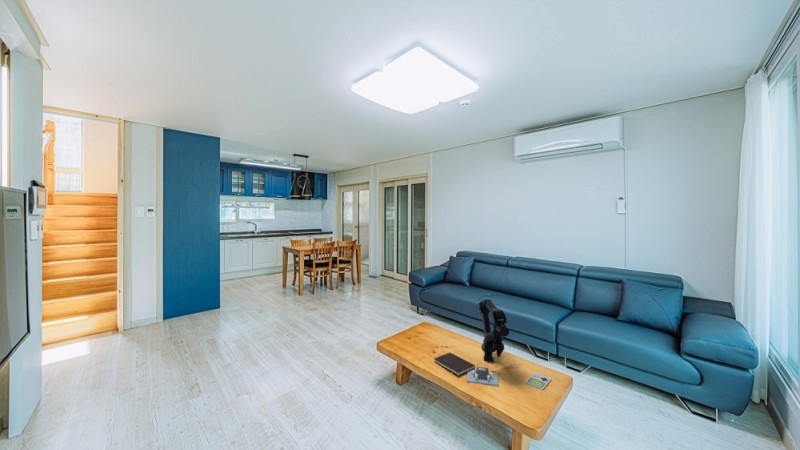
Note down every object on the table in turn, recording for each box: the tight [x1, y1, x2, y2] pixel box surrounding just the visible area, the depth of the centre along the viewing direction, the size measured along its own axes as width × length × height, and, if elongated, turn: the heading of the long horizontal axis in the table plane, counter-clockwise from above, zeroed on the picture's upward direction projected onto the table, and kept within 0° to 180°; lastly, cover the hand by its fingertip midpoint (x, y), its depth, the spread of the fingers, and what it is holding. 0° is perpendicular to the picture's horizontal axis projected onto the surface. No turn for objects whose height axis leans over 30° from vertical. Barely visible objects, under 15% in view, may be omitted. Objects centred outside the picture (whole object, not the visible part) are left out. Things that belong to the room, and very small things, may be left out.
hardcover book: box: [433, 352, 476, 377], centre depth 187 cm, size 16×23×2 cm
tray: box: [466, 366, 499, 387], centre depth 172 cm, size 12×18×4 cm, turn 75°
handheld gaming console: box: [525, 372, 552, 391], centre depth 169 cm, size 10×2×15 cm
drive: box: [475, 366, 489, 380], centre depth 172 cm, size 4×7×5 cm, turn 75°
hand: (497, 353), depth 179 cm, fingers open, 9 cm apart
